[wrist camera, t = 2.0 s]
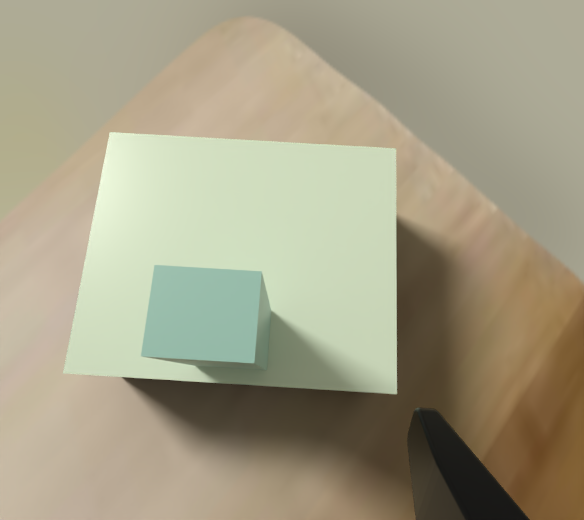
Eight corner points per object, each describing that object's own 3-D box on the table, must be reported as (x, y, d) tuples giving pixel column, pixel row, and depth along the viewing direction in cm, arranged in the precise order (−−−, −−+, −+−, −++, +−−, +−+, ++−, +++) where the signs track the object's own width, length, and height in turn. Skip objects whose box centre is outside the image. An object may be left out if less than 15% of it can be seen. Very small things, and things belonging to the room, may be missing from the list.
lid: (389, 393, 15) (460, 401, 9) (77, 374, 15) (-68, 368, 9) (390, 161, 18) (445, 40, 11) (119, 145, 18) (27, 17, 12)
